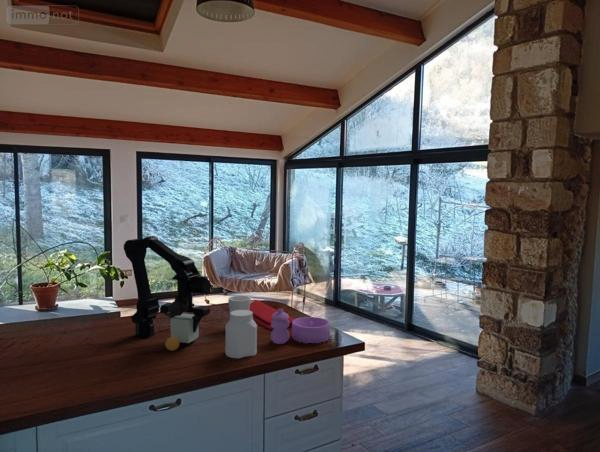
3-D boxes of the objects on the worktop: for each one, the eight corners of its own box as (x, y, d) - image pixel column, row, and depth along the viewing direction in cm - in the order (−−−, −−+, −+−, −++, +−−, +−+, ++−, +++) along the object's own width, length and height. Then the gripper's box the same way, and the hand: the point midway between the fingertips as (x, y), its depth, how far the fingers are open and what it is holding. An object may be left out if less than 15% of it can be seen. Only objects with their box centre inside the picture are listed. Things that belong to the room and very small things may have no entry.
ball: (162, 351, 166) (162, 338, 166) (170, 347, 171) (170, 334, 171) (174, 353, 165) (174, 339, 164) (182, 348, 170) (181, 335, 169)
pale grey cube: (170, 341, 174) (170, 318, 173) (181, 334, 181) (181, 313, 180) (188, 343, 171) (188, 320, 171) (198, 336, 179) (198, 315, 178)
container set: (318, 329, 195) (318, 299, 194) (336, 340, 182) (337, 308, 180) (264, 337, 184) (264, 305, 183) (279, 349, 171) (279, 315, 170)
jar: (231, 359, 159) (231, 318, 158) (221, 351, 168) (221, 311, 166) (261, 354, 165) (261, 313, 164) (250, 346, 173) (250, 307, 172)
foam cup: (246, 332, 190) (246, 301, 189) (225, 330, 192) (225, 300, 191) (253, 325, 200) (253, 296, 199) (233, 323, 202) (233, 295, 200)
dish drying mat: (270, 332, 192) (270, 323, 192) (230, 309, 227) (230, 302, 226) (301, 326, 201) (301, 318, 201) (258, 305, 235) (258, 298, 235)
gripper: (151, 294, 170) (151, 335, 171) (196, 298, 164) (196, 340, 166) (167, 288, 180) (168, 326, 182) (210, 291, 175) (210, 331, 176)
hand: (185, 331), depth 176 cm, fingers closed on pale grey cube, 8 cm apart
